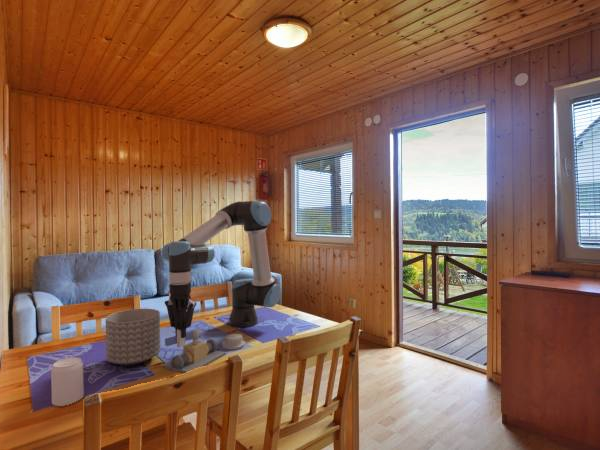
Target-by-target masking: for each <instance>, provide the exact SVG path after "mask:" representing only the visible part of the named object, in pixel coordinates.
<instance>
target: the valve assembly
mask: <svg viewBox="0 0 600 450" xmlns="http://www.w3.org/2000/svg"><path fill="white" fill-rule="evenodd" d="M182 347H183V348H182V349H183V350H182V354H181V355H179V354H178V355H174V356H173V357H172V358H171V360H169V361H167V362H165V363H163V364H161V367H162V368H165V369H169V370H173V371H177V372H180V373H183V374H185V373H184V372H187V371H190V370H193V369H195V368H198V367H201V366H205V365H206V366H208V365H209V364H212V363H213V362H215V361H216V360H218V359H220V358H222V357H224V356H226V355H227V353H226V352H225V351H220V350H217V347H218V346H217V343H216V341H215V340H214V339H207V340H206V341H203V340H202V341H201V340H199V339H198V338H196V339H192V342H189V343H187V344H185V345H184V346H182ZM206 366H205V367H206Z"/></svg>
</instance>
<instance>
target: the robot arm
mask: <svg viewBox="0 0 600 450" xmlns="http://www.w3.org/2000/svg"><path fill="white" fill-rule="evenodd" d="M271 219H272V211H271V208H270V207H269V205H268V204H267V202H264V201H258V200H249V201H236V202H233V203H230V204H228V205H226V206H225V207H222V208H221V209H219V210H218V211H217V212H216V213H215V215H214V216H213V217H211V218H210V219H208V220H207V221H206V222H204V223H203V224H201V225H199V226H198V227H197V228H195V229H194V230H192V231H191V232H189V233H187V234H186V235H185V236H183V237H182V238H180V239H179V240H177V241H171V242H170V243H165V245H163V247H162V249H161V255H162V258H163V259H164V260H165V261H168V268H169V269H168V272H169V273H168V274H169V275H168V276H169V277H168V282H169V283H170V284H169V294H170V297H169V299H168V300H165V301H164V305H165V307H166V310H167V311H166V312H167V314H168V319H169V324H170V327H172V328H174V330H175V331H174V332H175V336H176V337H177V344H176V347H177V348H182V347H183V346H185V345H186V341H185V337H186V333H187V329H188V328H190V327H191V326H192V321H193V317H194V313H195V309H196V306H197V302H196V301H193V300H192V297H191V292H192V288H191V287H192V283H191V280H192V279H191V278H192V277H191V275H192V274H191V269H192V266H194V265H202V264H207V263H210V262H212V261H213V260H214V259H215V255H216V252H215V248H214V247H213V246H212V245H211V244H207V242H208V241H210V240H212V239H213V238H215V236H217V235H218V234H220V233H221V232H222V231H224V230H228V229H230V228H231V227H235V226H243V231H244V232H245V233H246V234H247V237H248V243H249V245H248V246H249V250H250V258H251V264H252V271H253V277H251V278H249V277H248V278H241V279H236V280H234V281H233V282H232V285H231V286H232V287H231V302H232V303H231V304H232V306H231V312H230V316H229V318H228V324H229V325H230V326H231V327H235V328H248V327H252V326H255V325H257V324H258V323H259V318H258V315H257V312H256V308H255V307H256V306H258V307H264V308H274V307H275V306H276V305H277V304H278V303H279V301H280V298H281V293H282V289H281V287H280V285H279V284H277V283H276V281H275V280H276V279H275V277H273V276H272V273H271V265H270V257H269V251H268V250H269V249H268V242H267V241H268V240H267V235H266V234H267V233H266V231H267V229H268V228H269V226H268V225H269V224H271V221H272V220H271Z"/></svg>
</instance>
